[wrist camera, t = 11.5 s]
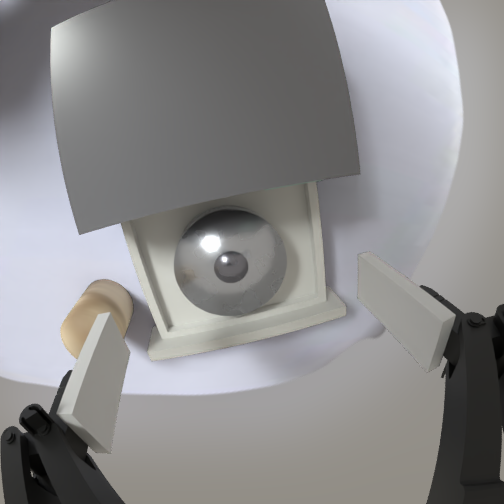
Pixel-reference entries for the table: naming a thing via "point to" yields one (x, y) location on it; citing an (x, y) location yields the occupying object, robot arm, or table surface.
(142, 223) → the tray
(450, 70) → the table surface
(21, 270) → the table surface
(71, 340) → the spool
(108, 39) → the housing
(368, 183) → the table surface
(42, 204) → the table surface
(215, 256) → the disc
